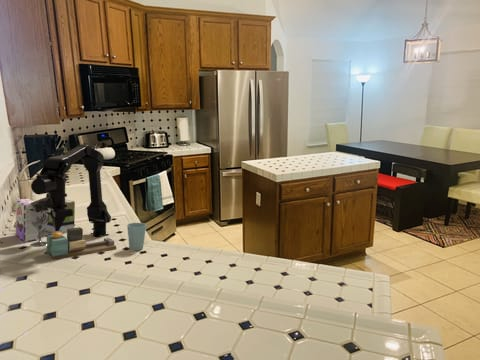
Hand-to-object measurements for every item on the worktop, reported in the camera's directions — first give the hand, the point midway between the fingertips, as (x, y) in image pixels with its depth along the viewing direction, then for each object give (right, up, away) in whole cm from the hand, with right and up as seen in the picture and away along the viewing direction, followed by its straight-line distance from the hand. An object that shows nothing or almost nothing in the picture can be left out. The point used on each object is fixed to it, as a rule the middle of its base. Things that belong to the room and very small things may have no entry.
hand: (56, 231), depth 137 cm
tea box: (-19, -5, +36) cm, 41 cm away
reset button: (0, -2, 0) cm, 2 cm away
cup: (+26, -10, +14) cm, 31 cm away
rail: (+6, -9, +8) cm, 14 cm away
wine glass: (-14, -8, +13) cm, 21 cm away
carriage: (+4, -8, +5) cm, 10 cm away
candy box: (-24, -6, +21) cm, 33 cm away
